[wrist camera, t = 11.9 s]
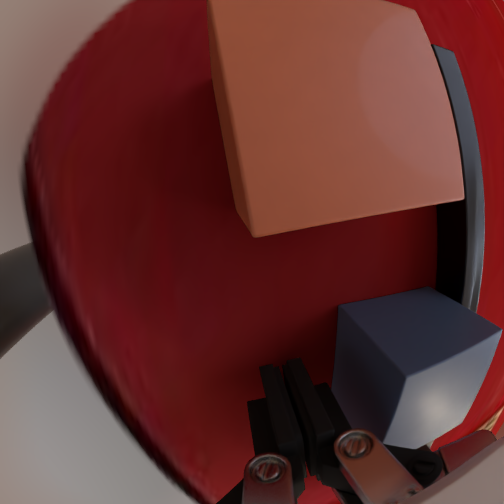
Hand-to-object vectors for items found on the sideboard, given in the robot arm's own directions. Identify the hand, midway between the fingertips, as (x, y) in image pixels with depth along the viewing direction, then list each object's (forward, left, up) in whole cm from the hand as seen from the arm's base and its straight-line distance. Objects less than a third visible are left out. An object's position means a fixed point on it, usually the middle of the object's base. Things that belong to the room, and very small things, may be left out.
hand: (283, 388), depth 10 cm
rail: (+9, 0, -1) cm, 9 cm away
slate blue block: (+5, 0, -1) cm, 5 cm away
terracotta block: (+2, +9, -1) cm, 10 cm away
